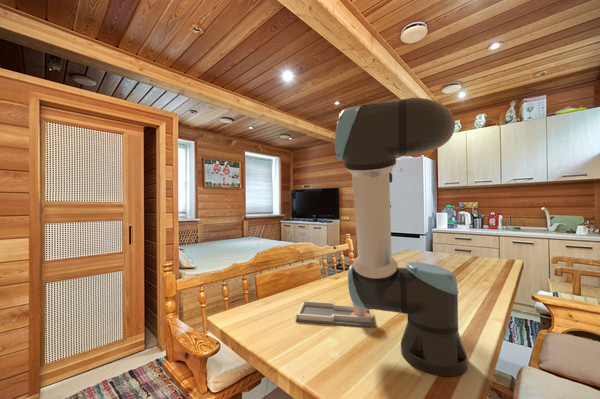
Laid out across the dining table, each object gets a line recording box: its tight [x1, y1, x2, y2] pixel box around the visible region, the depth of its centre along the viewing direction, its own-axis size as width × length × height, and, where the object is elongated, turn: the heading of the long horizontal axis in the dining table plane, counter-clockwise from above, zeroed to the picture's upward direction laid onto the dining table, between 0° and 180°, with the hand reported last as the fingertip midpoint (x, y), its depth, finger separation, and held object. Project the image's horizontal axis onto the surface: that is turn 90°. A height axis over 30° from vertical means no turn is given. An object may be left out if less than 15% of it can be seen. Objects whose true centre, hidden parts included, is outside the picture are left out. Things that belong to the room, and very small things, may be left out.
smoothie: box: [352, 302, 366, 317], centre depth 88 cm, size 6×6×14 cm
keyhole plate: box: [295, 300, 376, 329], centre depth 89 cm, size 14×26×2 cm, turn 79°
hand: (383, 225), depth 101 cm, fingers open, 13 cm apart
